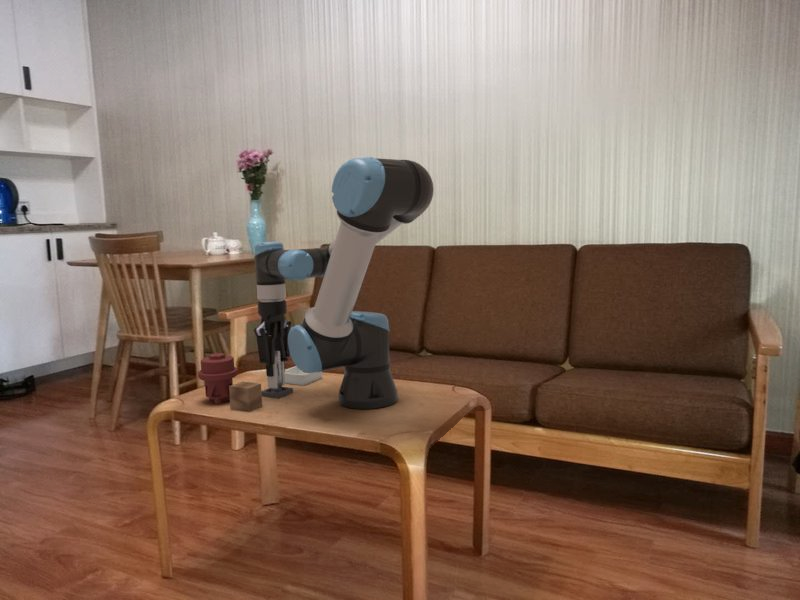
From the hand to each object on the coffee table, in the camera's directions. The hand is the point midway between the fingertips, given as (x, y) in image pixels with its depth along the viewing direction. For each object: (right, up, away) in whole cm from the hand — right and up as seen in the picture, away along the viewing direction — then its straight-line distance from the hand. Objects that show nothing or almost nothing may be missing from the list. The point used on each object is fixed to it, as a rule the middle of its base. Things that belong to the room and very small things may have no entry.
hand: (276, 386), depth 169 cm
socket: (0, -2, 0) cm, 2 cm away
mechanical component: (-14, -3, -4) cm, 15 cm away
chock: (-5, -4, -11) cm, 13 cm away
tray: (+4, 0, +14) cm, 15 cm away
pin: (0, -2, 0) cm, 2 cm away
